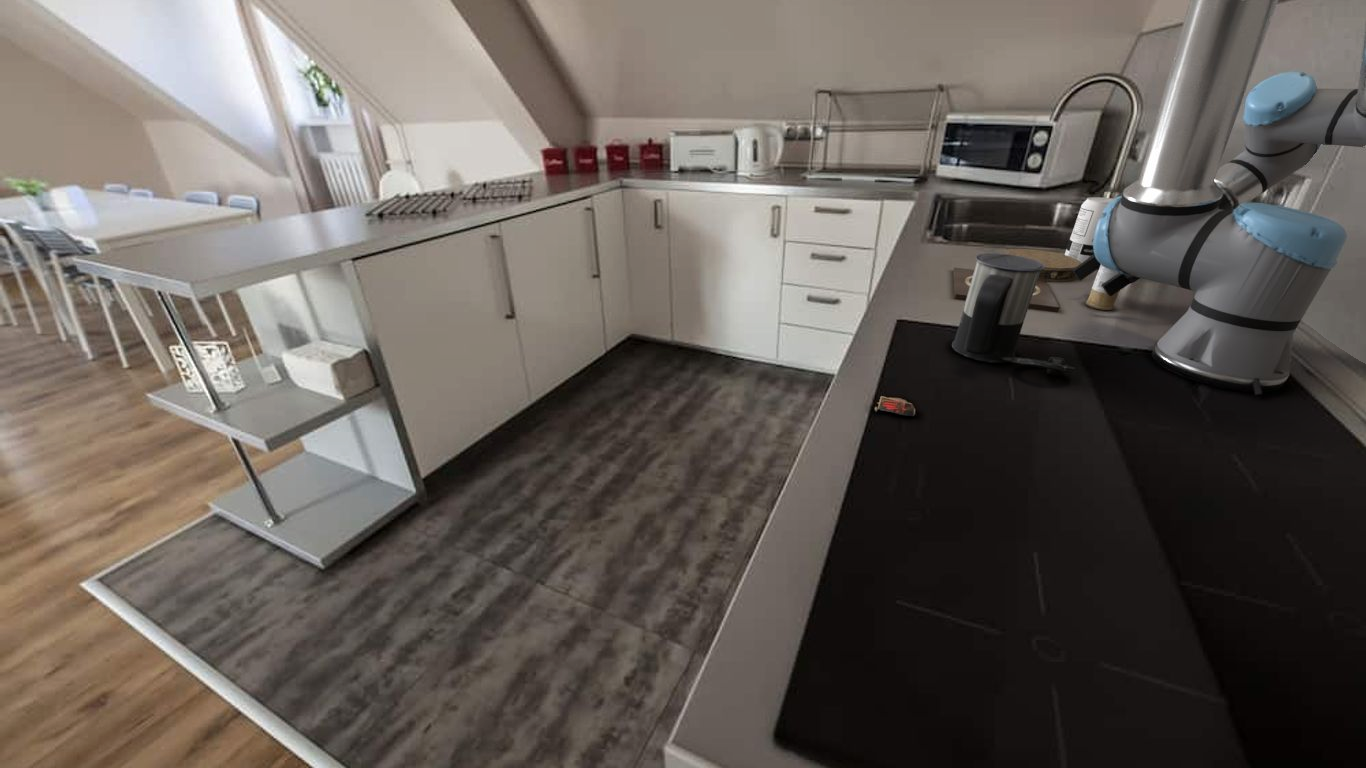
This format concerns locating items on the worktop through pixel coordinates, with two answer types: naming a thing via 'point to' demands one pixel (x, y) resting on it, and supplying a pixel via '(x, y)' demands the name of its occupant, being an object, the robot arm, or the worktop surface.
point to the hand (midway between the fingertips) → (1090, 282)
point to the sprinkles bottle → (1102, 291)
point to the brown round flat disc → (1050, 264)
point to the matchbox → (896, 406)
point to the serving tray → (1039, 300)
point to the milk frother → (1000, 311)
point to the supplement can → (1086, 228)
